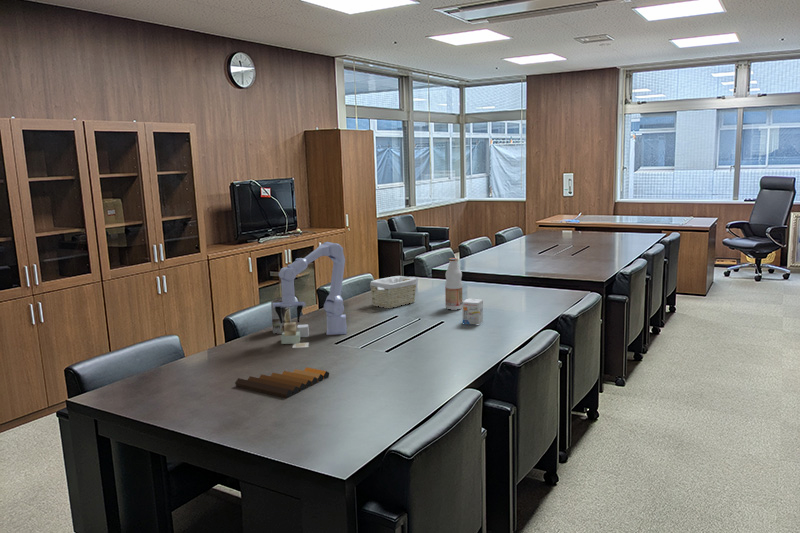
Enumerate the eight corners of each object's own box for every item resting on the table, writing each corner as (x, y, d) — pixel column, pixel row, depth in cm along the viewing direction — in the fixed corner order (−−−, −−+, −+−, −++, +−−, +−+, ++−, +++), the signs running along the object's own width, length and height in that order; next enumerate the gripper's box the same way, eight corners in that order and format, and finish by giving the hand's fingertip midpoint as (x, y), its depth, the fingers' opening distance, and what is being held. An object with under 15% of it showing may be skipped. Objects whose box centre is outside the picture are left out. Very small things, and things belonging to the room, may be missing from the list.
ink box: (462, 324, 309) (461, 301, 307) (466, 320, 317) (466, 298, 315) (478, 325, 306) (478, 302, 304) (483, 321, 314) (483, 299, 312)
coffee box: (284, 334, 300) (283, 301, 298) (272, 333, 302) (270, 301, 299) (291, 329, 309) (290, 297, 306) (279, 328, 310) (277, 297, 308)
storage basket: (398, 298, 371) (398, 274, 368) (418, 302, 359) (418, 277, 357) (369, 306, 354) (368, 280, 351) (389, 310, 343) (388, 284, 340)
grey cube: (308, 334, 299) (308, 324, 298) (308, 337, 294) (307, 327, 293) (298, 334, 299) (297, 324, 298) (297, 337, 294) (297, 327, 293)
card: (309, 343, 284) (309, 342, 284) (308, 347, 277) (308, 346, 277) (293, 343, 284) (293, 342, 284) (292, 348, 277) (292, 347, 277)
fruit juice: (448, 311, 337) (447, 260, 333) (443, 307, 346) (442, 257, 342) (464, 309, 339) (464, 259, 335) (459, 305, 348) (459, 256, 344)
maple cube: (296, 332, 289) (295, 322, 288) (295, 335, 284) (295, 324, 284) (285, 333, 289) (285, 322, 288) (284, 335, 284) (284, 325, 283)
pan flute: (235, 388, 231) (286, 400, 218) (234, 379, 230) (285, 390, 218) (280, 368, 252) (329, 378, 239) (280, 360, 251) (329, 369, 239)
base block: (300, 339, 291) (300, 331, 291) (299, 343, 283) (298, 335, 283) (283, 339, 291) (282, 332, 290) (281, 344, 283) (281, 336, 282)
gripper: (271, 296, 279) (273, 325, 281) (303, 294, 280) (305, 323, 282) (273, 292, 286) (274, 321, 288) (304, 291, 287) (306, 319, 289)
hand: (290, 322), depth 286 cm, fingers open, 7 cm apart
